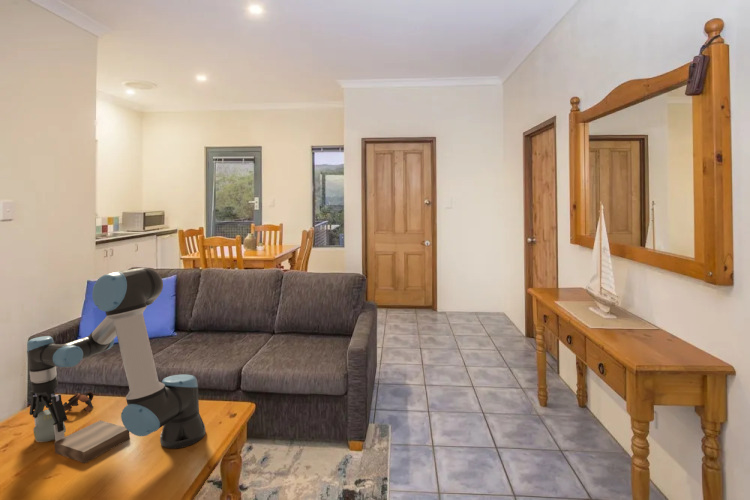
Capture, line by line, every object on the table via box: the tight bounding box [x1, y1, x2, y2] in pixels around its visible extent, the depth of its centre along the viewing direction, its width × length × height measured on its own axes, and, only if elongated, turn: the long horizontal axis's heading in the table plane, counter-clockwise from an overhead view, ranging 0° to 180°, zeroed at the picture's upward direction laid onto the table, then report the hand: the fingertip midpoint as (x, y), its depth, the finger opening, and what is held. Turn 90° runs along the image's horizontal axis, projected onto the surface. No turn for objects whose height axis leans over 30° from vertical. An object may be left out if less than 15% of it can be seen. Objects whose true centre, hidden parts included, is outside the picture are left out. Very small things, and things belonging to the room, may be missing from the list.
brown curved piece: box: [63, 390, 94, 413], centre depth 175 cm, size 12×10×8 cm
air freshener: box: [33, 408, 67, 443], centre depth 152 cm, size 11×8×10 cm
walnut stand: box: [53, 420, 131, 464], centre depth 147 cm, size 16×16×4 cm
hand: (50, 436), depth 152 cm, fingers closed on air freshener, 11 cm apart
